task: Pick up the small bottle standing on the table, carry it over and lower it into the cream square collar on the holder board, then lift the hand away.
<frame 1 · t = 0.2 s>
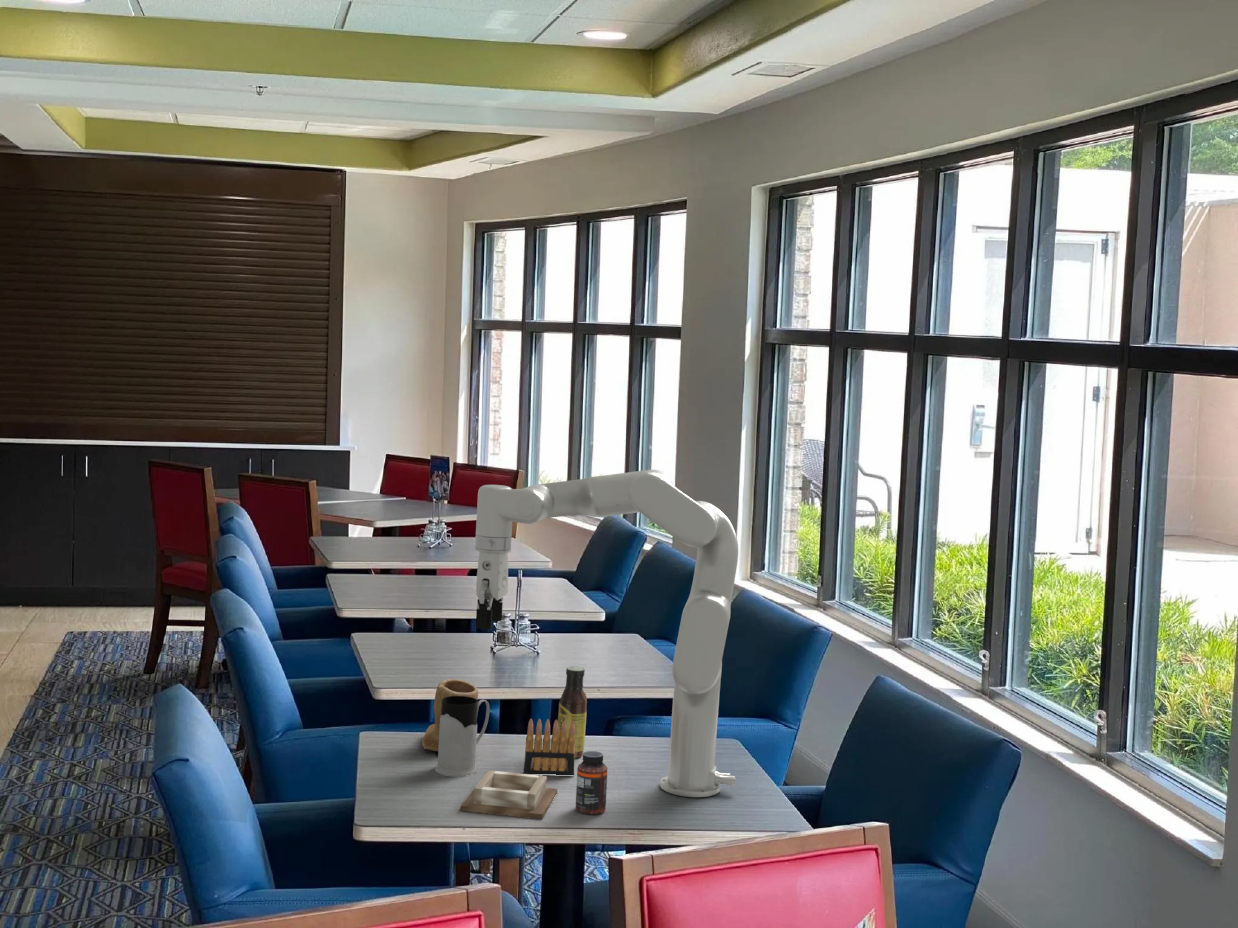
hand: (488, 624, 282), 31 cm above the table, tool pointing down, fingers open, 9 cm apart
supplement bottle: (590, 811, 262), on the table
sauce bottle: (569, 756, 298), on the table
holder board: (510, 801, 264), on the table
tan boot: (449, 747, 299), on the table
ammunition clip: (548, 775, 283), on the table
black and white mug: (464, 768, 284), on the table
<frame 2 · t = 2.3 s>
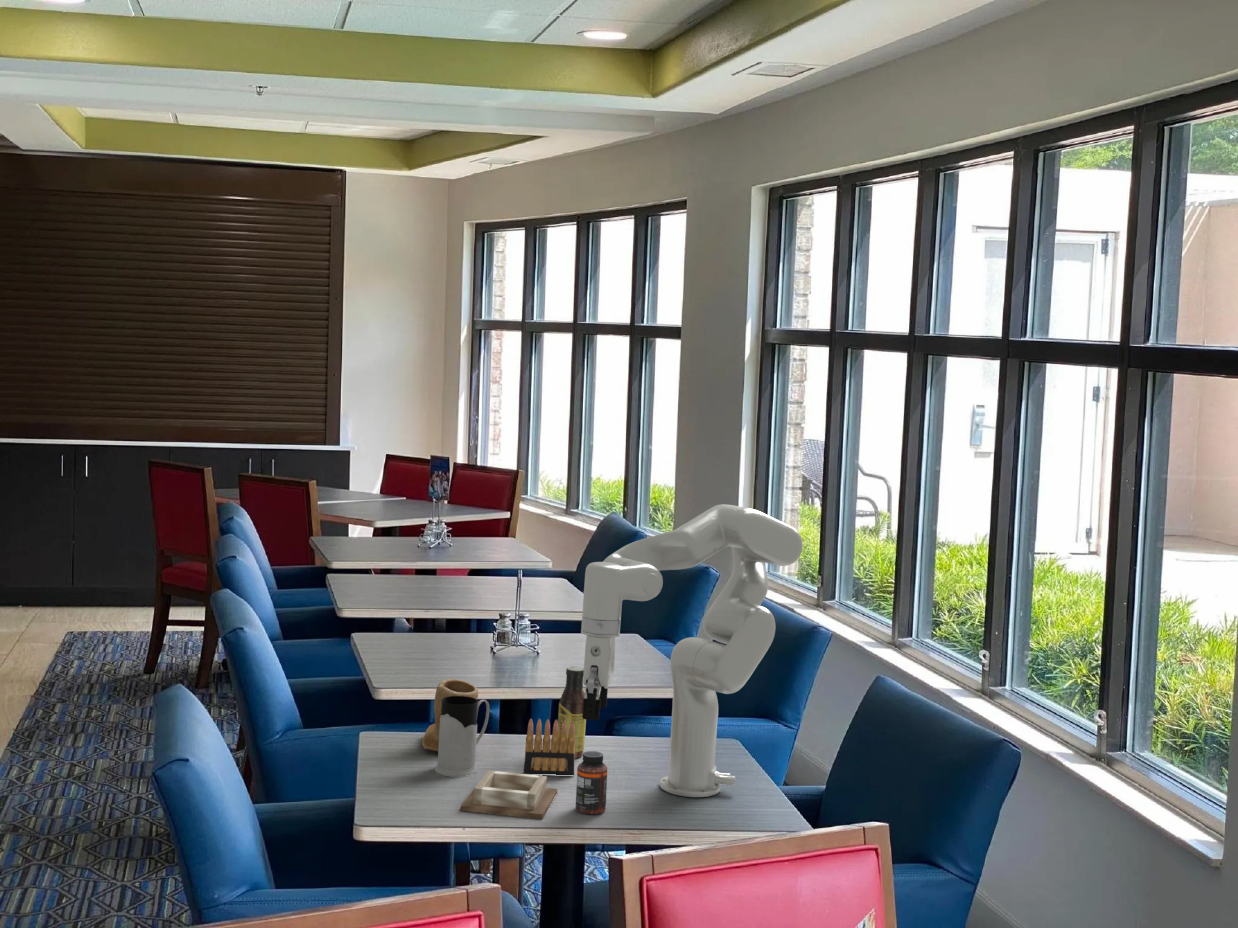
hand: (594, 713, 260), 19 cm above the table, tool pointing down, fingers open, 9 cm apart
nothing on the table moved.
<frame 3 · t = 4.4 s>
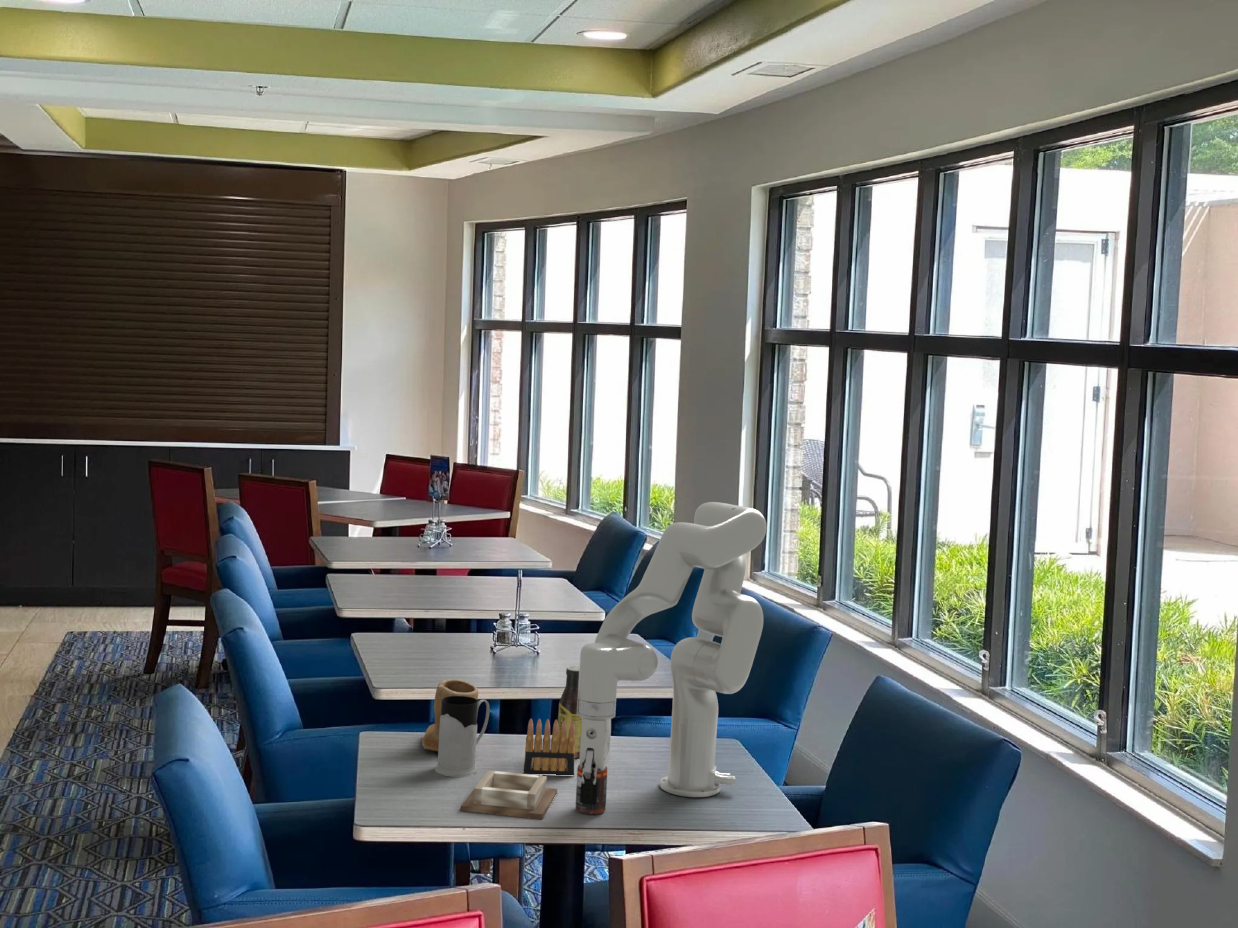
hand: (590, 797, 262), 3 cm above the table, tool pointing down, fingers closed on supplement bottle, 6 cm apart
supplement bottle: (590, 811, 262), on the table, touching gripper
everything else where it was.
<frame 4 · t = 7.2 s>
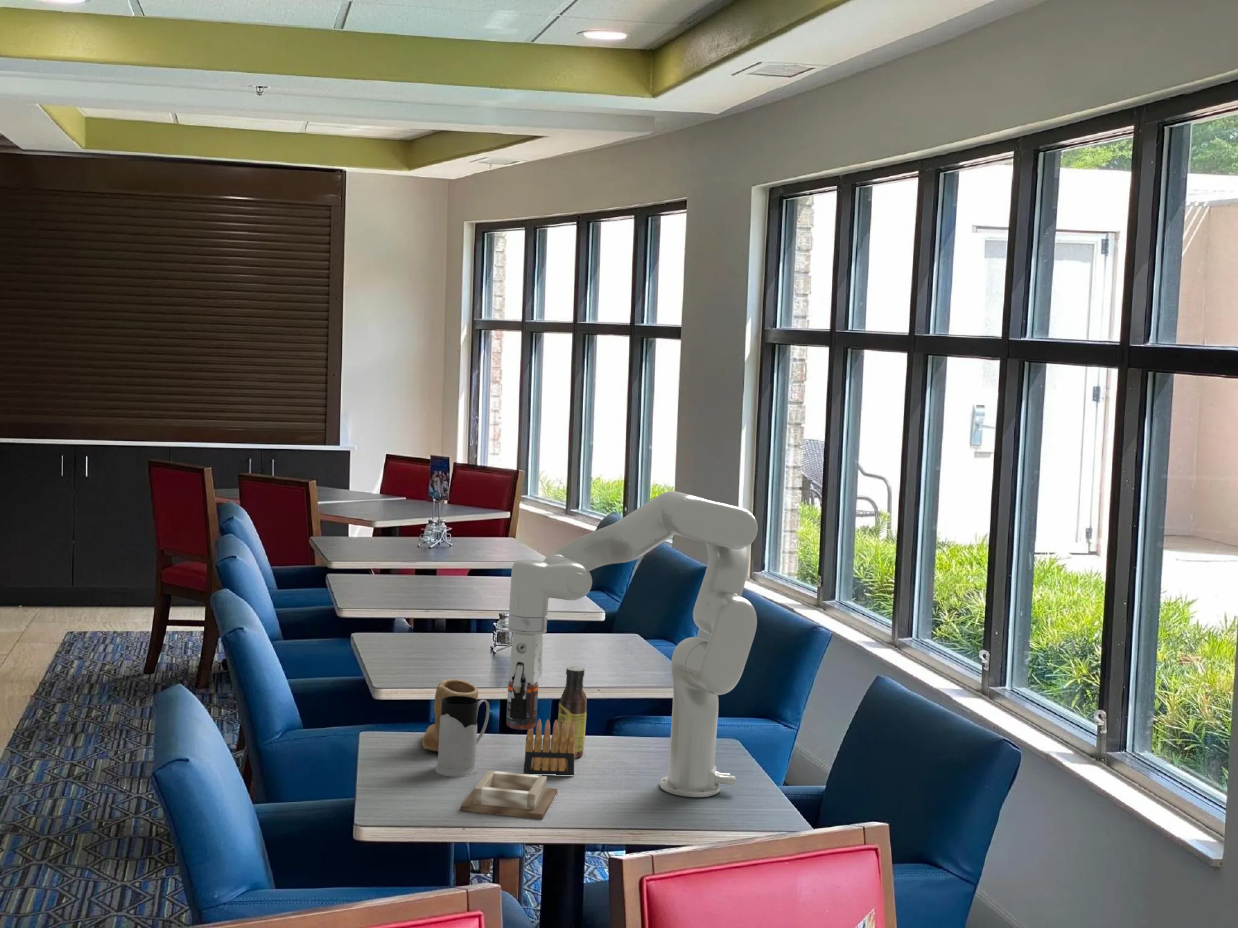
hand: (521, 713, 262), 18 cm above the table, tool pointing down, fingers closed on supplement bottle, 6 cm apart
supplement bottle: (520, 727, 263), point 15 cm above the table, touching gripper
everything else where it was.
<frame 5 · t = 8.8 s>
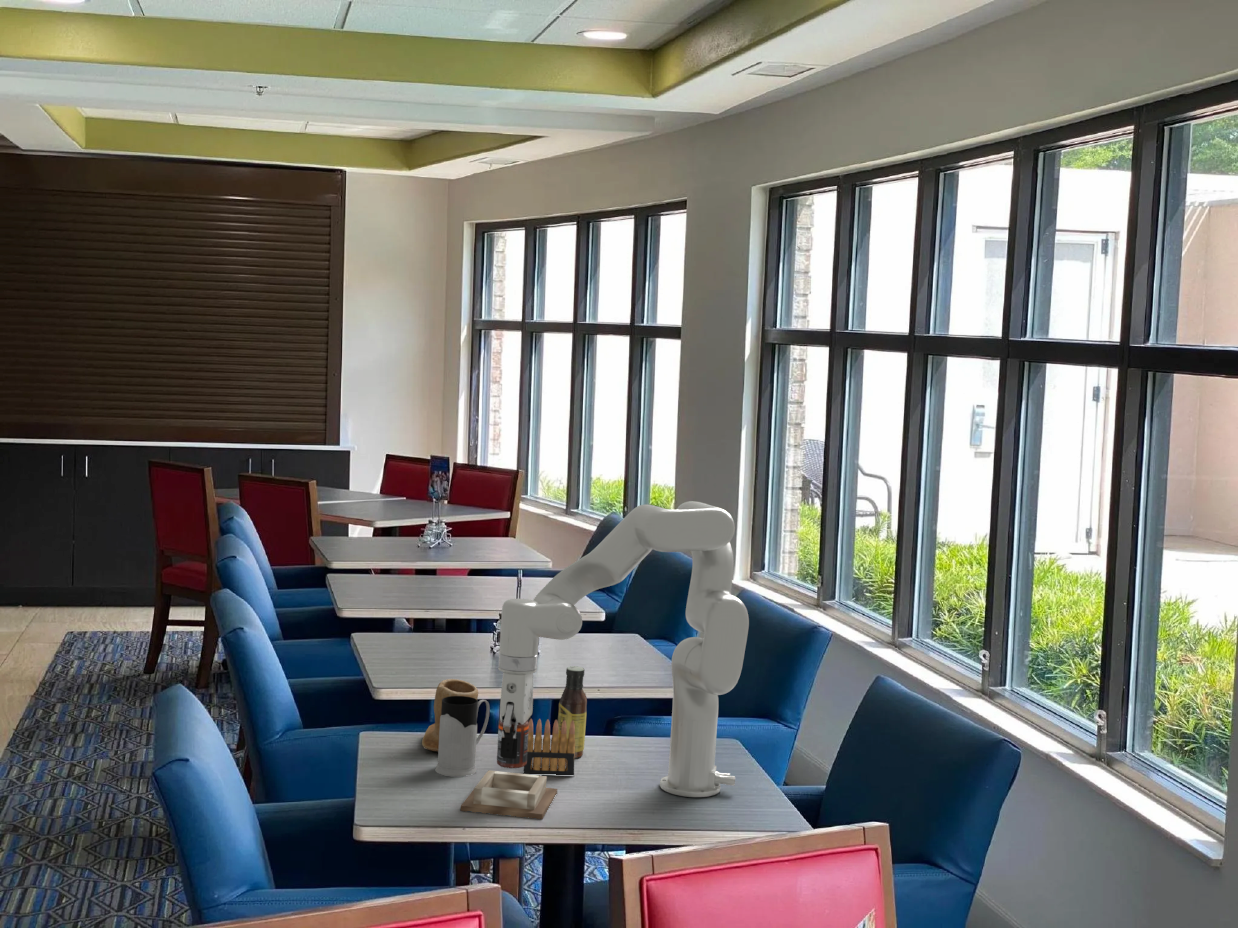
hand: (512, 751, 263), 10 cm above the table, tool pointing down, fingers closed on supplement bottle, 6 cm apart
supplement bottle: (511, 765, 263), point 7 cm above the table, touching gripper
everything else where it was.
when the fingers open (5 cm above the table, at t = 10.2 s): supplement bottle drops 1 cm, resting on holder board.
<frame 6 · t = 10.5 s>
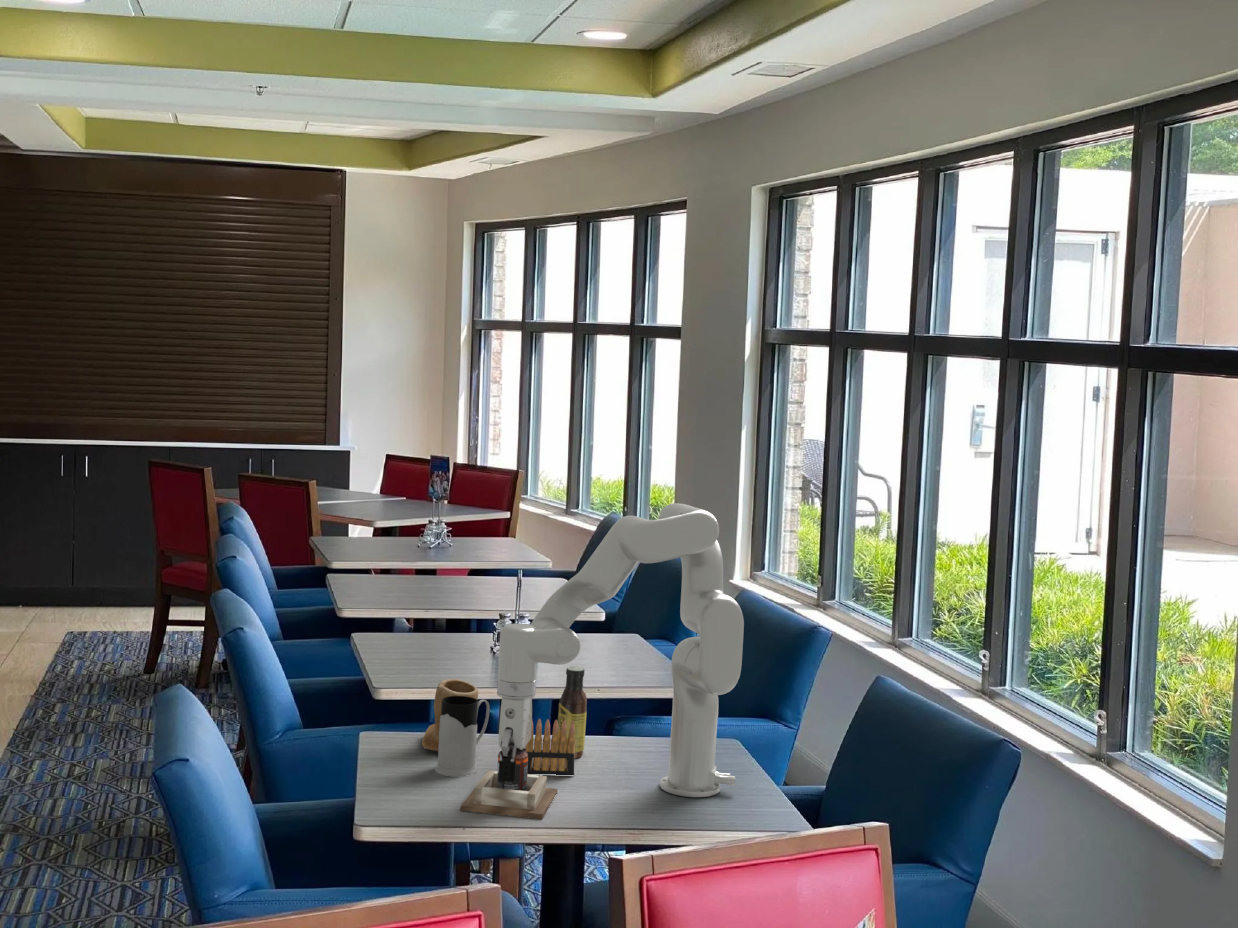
hand: (511, 773, 263), 6 cm above the table, tool pointing down, fingers open, 8 cm apart
supplement bottle: (511, 797, 264), point 1 cm above the table, touching holder board
everything else where it was.
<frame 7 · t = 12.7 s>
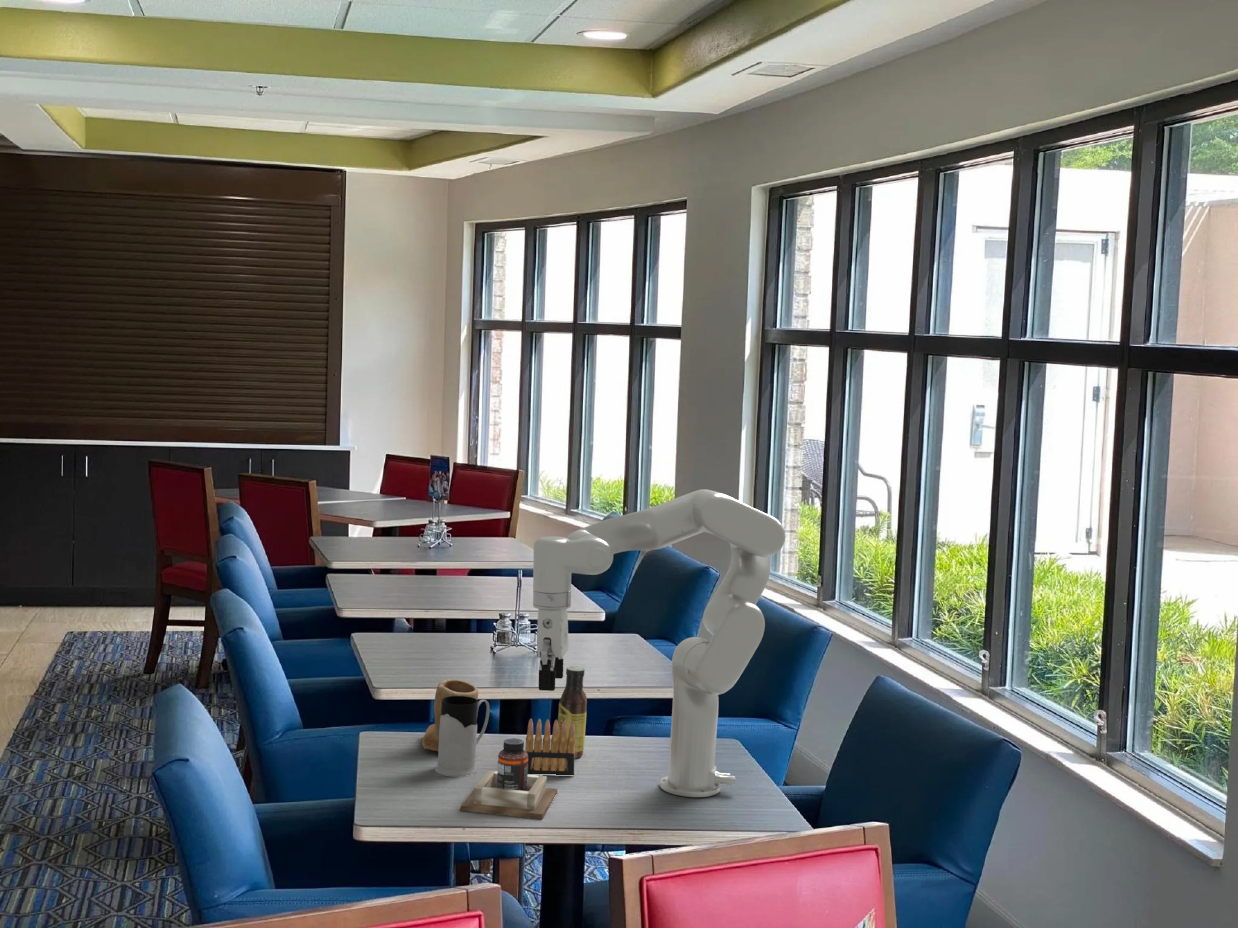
hand: (551, 683, 267), 23 cm above the table, tool pointing down, fingers open, 9 cm apart
nothing on the table moved.
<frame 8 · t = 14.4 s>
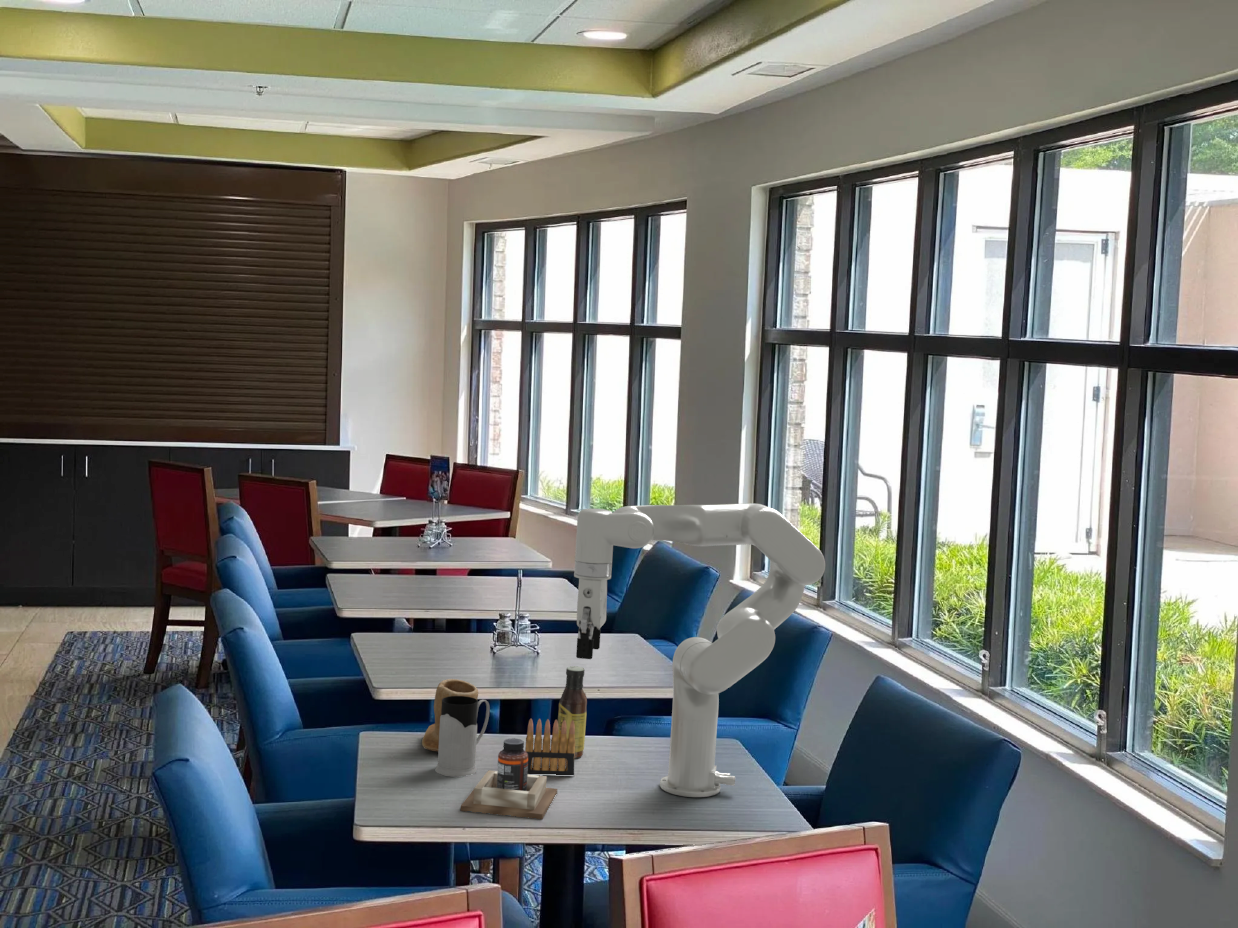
hand: (588, 653, 272), 28 cm above the table, tool pointing down, fingers open, 9 cm apart
nothing on the table moved.
at the end: supplement bottle 0.2 cm off-centre on the holder board, point 0.8 cm above the holder board's base; supplement bottle tilted 0°; the gripper is holding nothing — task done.
